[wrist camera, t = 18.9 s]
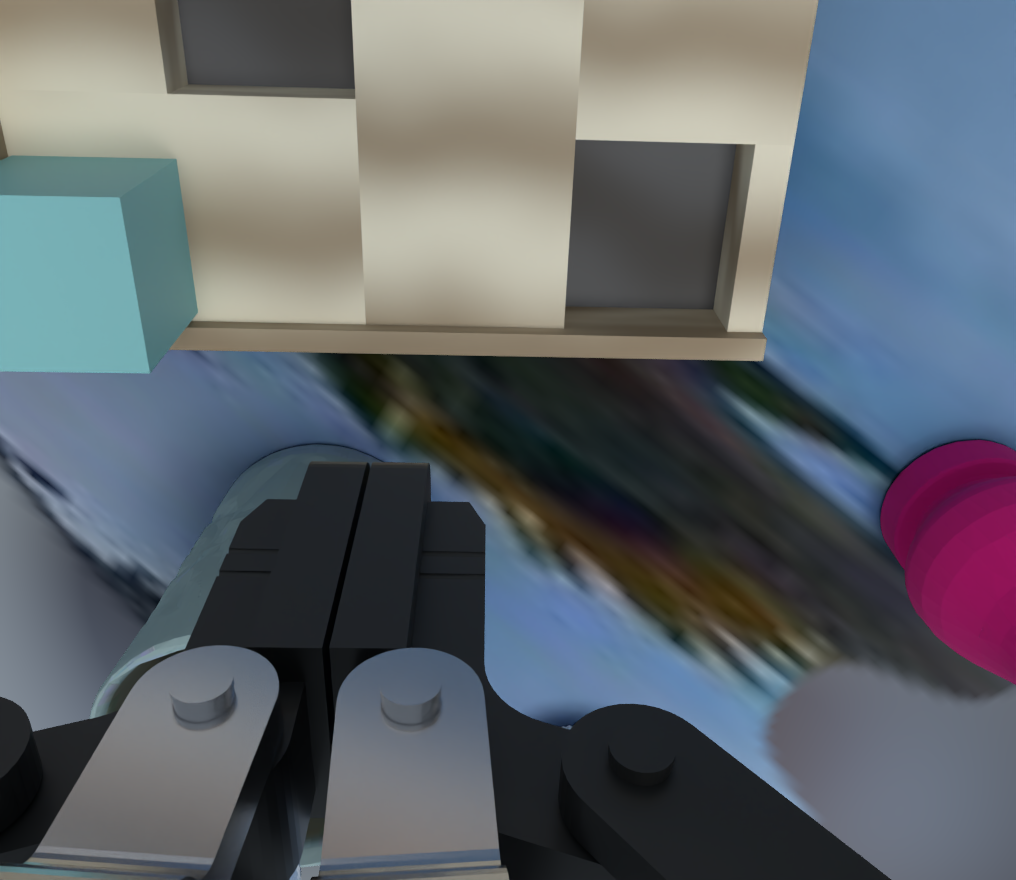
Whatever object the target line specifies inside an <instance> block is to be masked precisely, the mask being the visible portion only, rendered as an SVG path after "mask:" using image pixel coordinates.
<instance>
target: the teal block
mask: <svg viewBox="0 0 1016 880" xmlns="http://www.w3.org/2000/svg"><path fill="white" fill-rule="evenodd" d="M197 313H198V308H197V301H196V294H195V287H194V280H193V273H192V266H191V258H190V251H189V244H188V237H187V230H186V223H185V216H184V209H183V202H182V195H181V188H180V180H179V173H178V166H177V159H161V158H112V157H64V156H16V155H12V156H9V157H7V158H5V159H2V160H0V371H11V372H85V373H151V371H152V370H153V369H154V368H155V366H156V365H157V364H158V363H159V361H160V360H161V359H162V358H163V356H164V355H165V354H166V352H167V351H168V350H169V349H170V347H171V346H172V345H173V344H174V342H175V341H176V340H177V339H178V337H179V336H180V335H181V333H182V332H183V331H184V330H185V328H186V327H187V326H188V325H189V323H190V322H191V321H192V320H193V318H194V317H195V316H196V314H197Z"/></svg>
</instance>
